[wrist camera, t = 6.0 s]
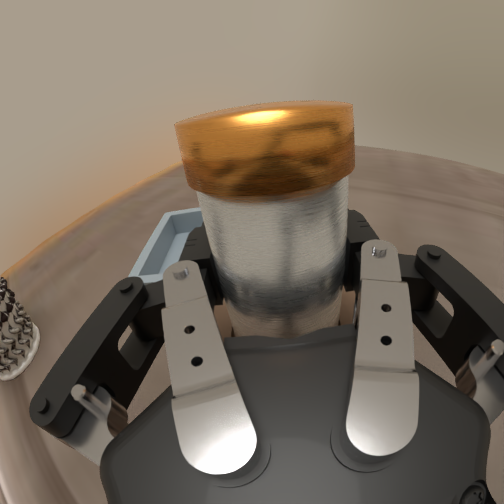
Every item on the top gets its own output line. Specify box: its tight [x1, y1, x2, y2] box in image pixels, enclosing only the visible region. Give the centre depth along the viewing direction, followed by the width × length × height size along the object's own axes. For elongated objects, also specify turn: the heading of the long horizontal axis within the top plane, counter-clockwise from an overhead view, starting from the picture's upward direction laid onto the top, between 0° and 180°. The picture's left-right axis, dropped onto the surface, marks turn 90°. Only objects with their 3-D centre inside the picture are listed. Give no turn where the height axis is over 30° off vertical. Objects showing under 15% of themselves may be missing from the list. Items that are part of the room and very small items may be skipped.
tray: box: [128, 207, 203, 285], centre depth 26 cm, size 15×13×4 cm
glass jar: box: [174, 101, 355, 339], centre depth 11 cm, size 5×5×14 cm
